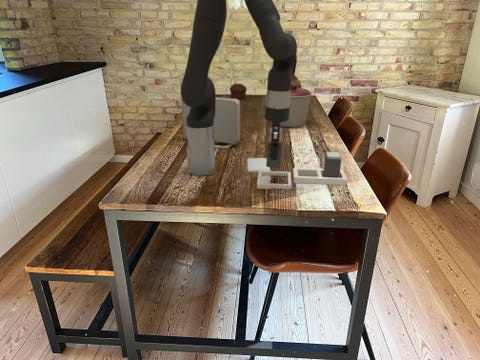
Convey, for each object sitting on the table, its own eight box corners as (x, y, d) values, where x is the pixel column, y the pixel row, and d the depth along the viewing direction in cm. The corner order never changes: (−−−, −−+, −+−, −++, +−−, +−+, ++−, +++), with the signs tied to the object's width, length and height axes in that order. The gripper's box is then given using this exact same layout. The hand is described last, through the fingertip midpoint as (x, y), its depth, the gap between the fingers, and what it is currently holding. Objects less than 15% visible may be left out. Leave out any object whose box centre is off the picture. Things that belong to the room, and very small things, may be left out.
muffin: (249, 98, 241) (249, 83, 237) (243, 101, 232) (243, 86, 228) (233, 96, 245) (232, 82, 241) (226, 100, 236) (226, 84, 232)
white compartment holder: (293, 185, 117) (294, 177, 116) (292, 175, 125) (293, 167, 123) (346, 188, 116) (347, 179, 114) (342, 177, 123) (343, 169, 122)
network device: (181, 142, 157) (178, 97, 149) (191, 136, 165) (188, 93, 156) (234, 149, 149) (234, 102, 140) (242, 143, 156) (242, 97, 148)
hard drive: (247, 158, 137) (247, 170, 126) (268, 158, 137) (270, 170, 126) (247, 162, 138) (247, 174, 127) (268, 162, 138) (270, 174, 127)
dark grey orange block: (266, 166, 114) (267, 140, 110) (266, 161, 118) (268, 135, 114) (280, 167, 114) (282, 141, 110) (280, 162, 118) (282, 136, 114)
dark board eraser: (324, 181, 118) (327, 156, 114) (323, 176, 122) (325, 151, 118) (338, 182, 117) (341, 157, 113) (336, 176, 121) (339, 152, 117)
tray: (256, 190, 114) (256, 184, 114) (258, 176, 124) (258, 170, 123) (291, 191, 113) (291, 185, 113) (290, 177, 123) (290, 171, 122)
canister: (280, 131, 172) (282, 87, 164) (269, 121, 189) (271, 80, 180) (315, 129, 176) (319, 85, 167) (302, 119, 192) (304, 79, 183)
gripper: (266, 98, 114) (263, 148, 122) (264, 109, 101) (261, 164, 109) (289, 99, 114) (285, 149, 121) (290, 111, 101) (285, 166, 108)
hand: (273, 156), depth 115 cm, fingers closed on dark grey orange block, 4 cm apart
